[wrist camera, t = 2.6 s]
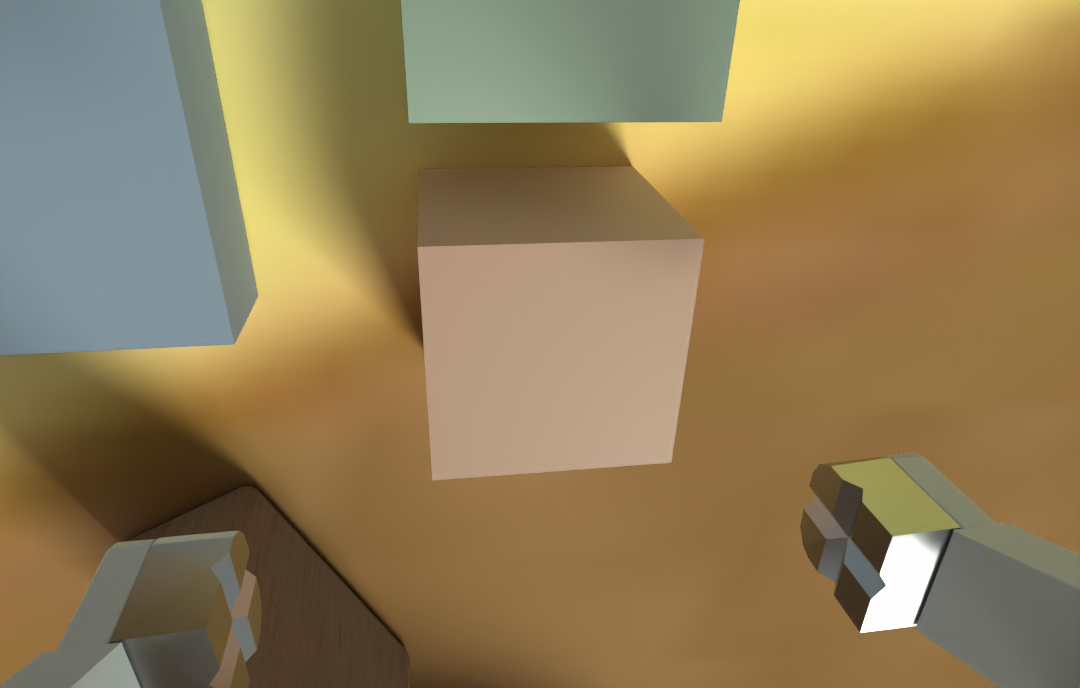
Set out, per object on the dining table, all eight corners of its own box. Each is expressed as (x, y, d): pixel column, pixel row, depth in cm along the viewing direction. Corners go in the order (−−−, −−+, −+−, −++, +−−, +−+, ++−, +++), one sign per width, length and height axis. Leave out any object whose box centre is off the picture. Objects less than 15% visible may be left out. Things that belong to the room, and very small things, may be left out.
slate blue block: (194, -37, 13) (151, -36, 11) (258, 295, 17) (234, 344, 14) (-225, -47, 12) (-357, -48, 10) (-65, 308, 16) (-141, 361, 14)
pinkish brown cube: (631, 165, 16) (704, 238, 12) (614, 347, 19) (670, 462, 15) (419, 168, 16) (417, 247, 11) (430, 356, 18) (432, 480, 14)
